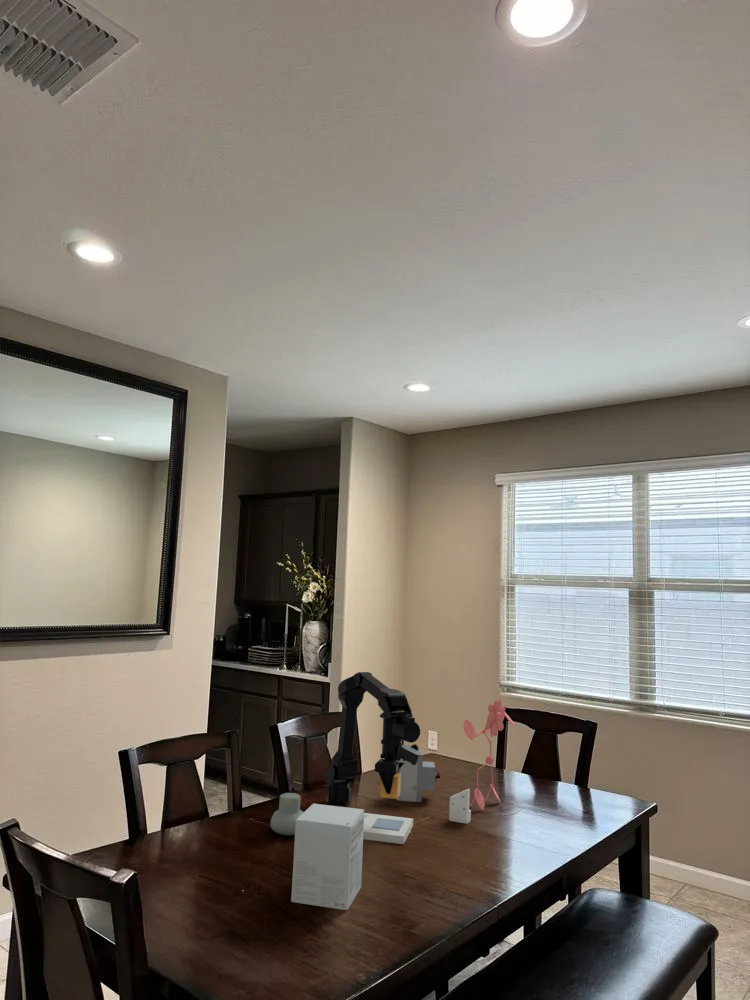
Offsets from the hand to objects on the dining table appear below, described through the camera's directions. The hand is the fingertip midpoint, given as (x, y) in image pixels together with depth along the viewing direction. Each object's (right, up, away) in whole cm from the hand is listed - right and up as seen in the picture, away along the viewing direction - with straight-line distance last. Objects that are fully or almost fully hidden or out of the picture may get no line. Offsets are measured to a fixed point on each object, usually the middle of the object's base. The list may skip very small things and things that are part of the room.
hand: (390, 791), depth 200 cm
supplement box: (-15, -5, -44) cm, 47 cm away
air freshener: (-29, -10, -5) cm, 31 cm away
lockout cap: (0, -1, 0) cm, 1 cm away
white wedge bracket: (+22, -14, +11) cm, 28 cm away
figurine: (+35, -17, +25) cm, 46 cm away
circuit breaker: (+10, -16, +32) cm, 38 cm away
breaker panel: (-5, -11, -1) cm, 12 cm away
